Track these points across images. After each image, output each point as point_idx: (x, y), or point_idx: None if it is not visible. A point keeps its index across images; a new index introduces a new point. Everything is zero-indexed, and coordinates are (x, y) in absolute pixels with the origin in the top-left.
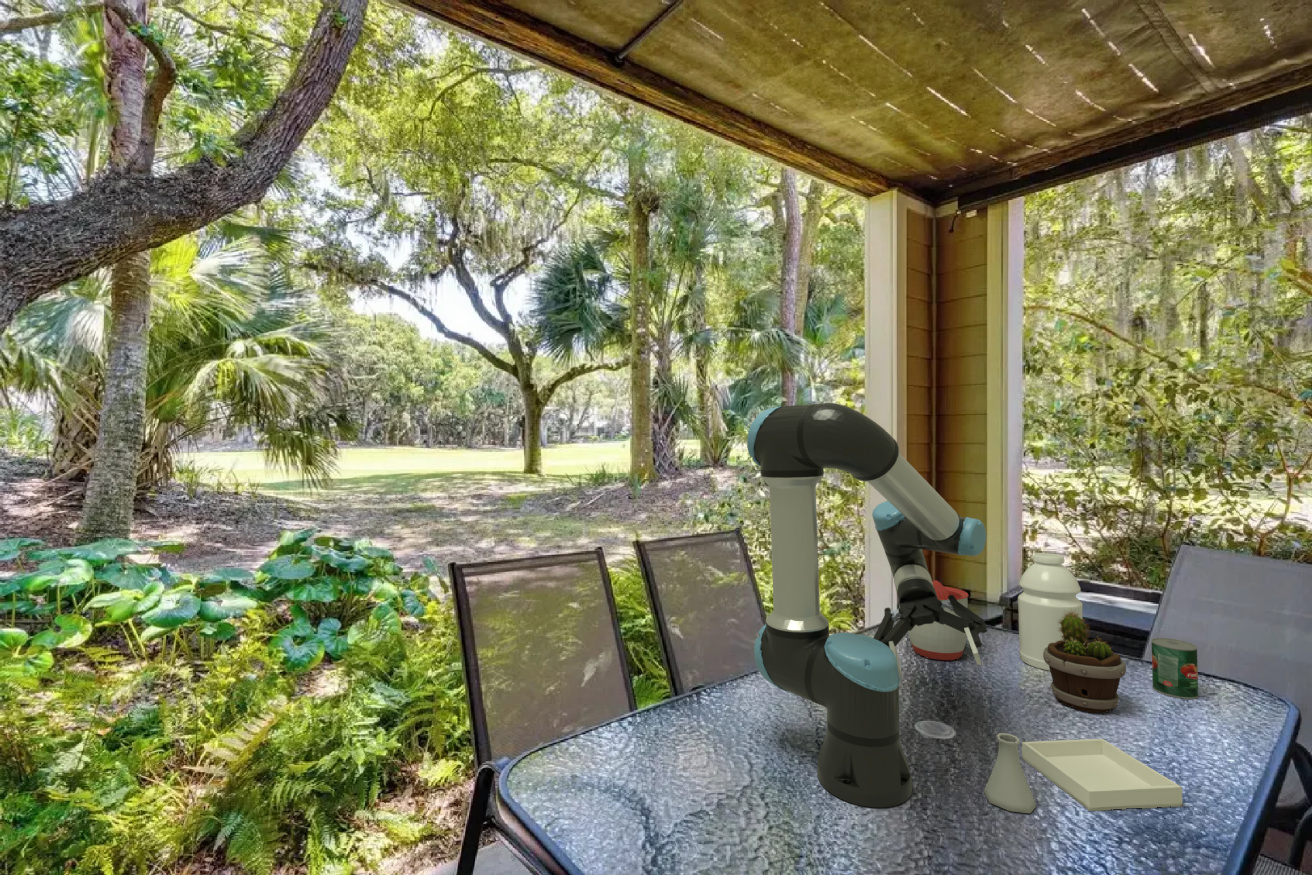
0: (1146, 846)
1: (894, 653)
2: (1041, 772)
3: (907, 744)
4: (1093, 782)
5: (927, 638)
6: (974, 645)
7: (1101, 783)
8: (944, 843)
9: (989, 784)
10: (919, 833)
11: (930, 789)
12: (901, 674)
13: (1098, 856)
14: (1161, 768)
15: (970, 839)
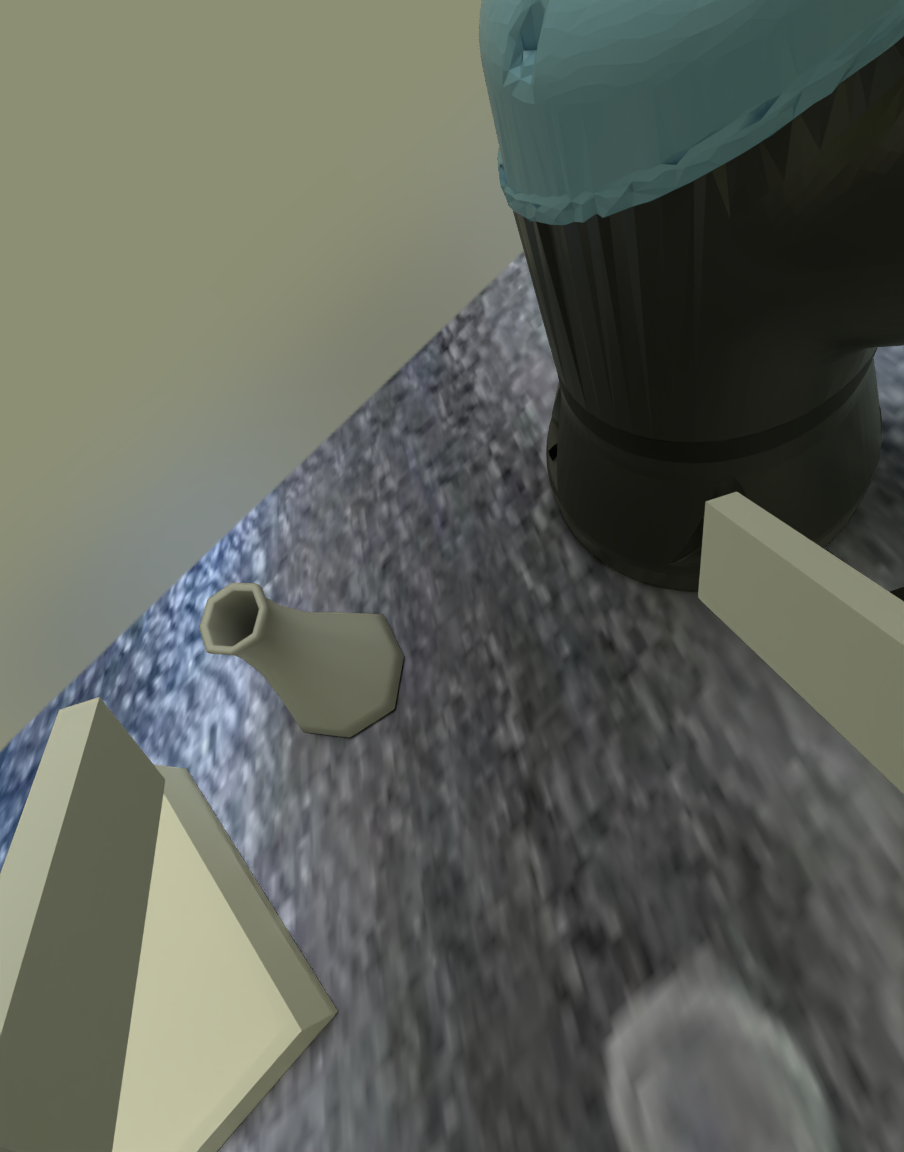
0: (112, 697)
1: (825, 581)
2: (279, 922)
3: (726, 814)
4: (153, 947)
5: None
6: (39, 788)
7: None
8: (433, 401)
9: (373, 638)
10: (483, 388)
11: (526, 565)
12: (707, 598)
13: (193, 588)
14: None
15: (394, 451)
